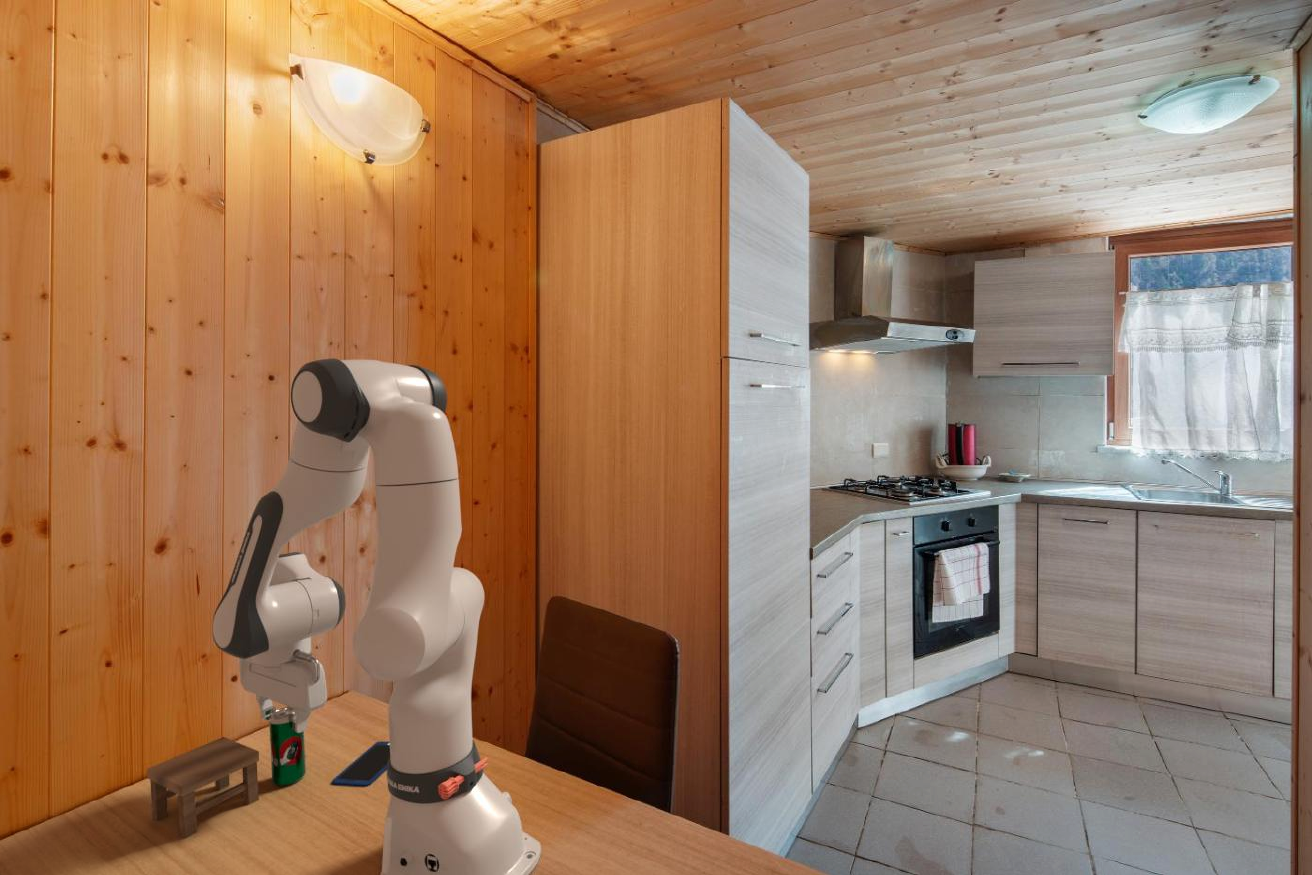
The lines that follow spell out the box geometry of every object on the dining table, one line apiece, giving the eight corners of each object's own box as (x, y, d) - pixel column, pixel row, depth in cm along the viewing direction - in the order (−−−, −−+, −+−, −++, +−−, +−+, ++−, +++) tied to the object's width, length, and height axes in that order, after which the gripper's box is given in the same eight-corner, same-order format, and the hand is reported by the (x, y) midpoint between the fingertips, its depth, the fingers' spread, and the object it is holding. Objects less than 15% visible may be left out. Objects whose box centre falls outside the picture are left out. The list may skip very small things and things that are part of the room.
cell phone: (413, 746, 118) (413, 742, 118) (368, 789, 104) (368, 784, 104) (378, 744, 119) (377, 740, 119) (329, 786, 105) (329, 782, 105)
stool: (261, 798, 102) (258, 751, 102) (184, 839, 92) (181, 786, 92) (225, 782, 107) (223, 736, 107) (149, 818, 98) (147, 768, 97)
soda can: (312, 771, 110) (309, 704, 109) (292, 788, 105) (289, 718, 104) (285, 770, 110) (282, 704, 110) (265, 787, 105) (261, 718, 105)
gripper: (336, 650, 105) (337, 730, 105) (267, 631, 115) (269, 704, 115) (299, 662, 99) (301, 747, 100) (231, 641, 109) (232, 718, 109)
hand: (283, 724), depth 107 cm, fingers open, 8 cm apart
